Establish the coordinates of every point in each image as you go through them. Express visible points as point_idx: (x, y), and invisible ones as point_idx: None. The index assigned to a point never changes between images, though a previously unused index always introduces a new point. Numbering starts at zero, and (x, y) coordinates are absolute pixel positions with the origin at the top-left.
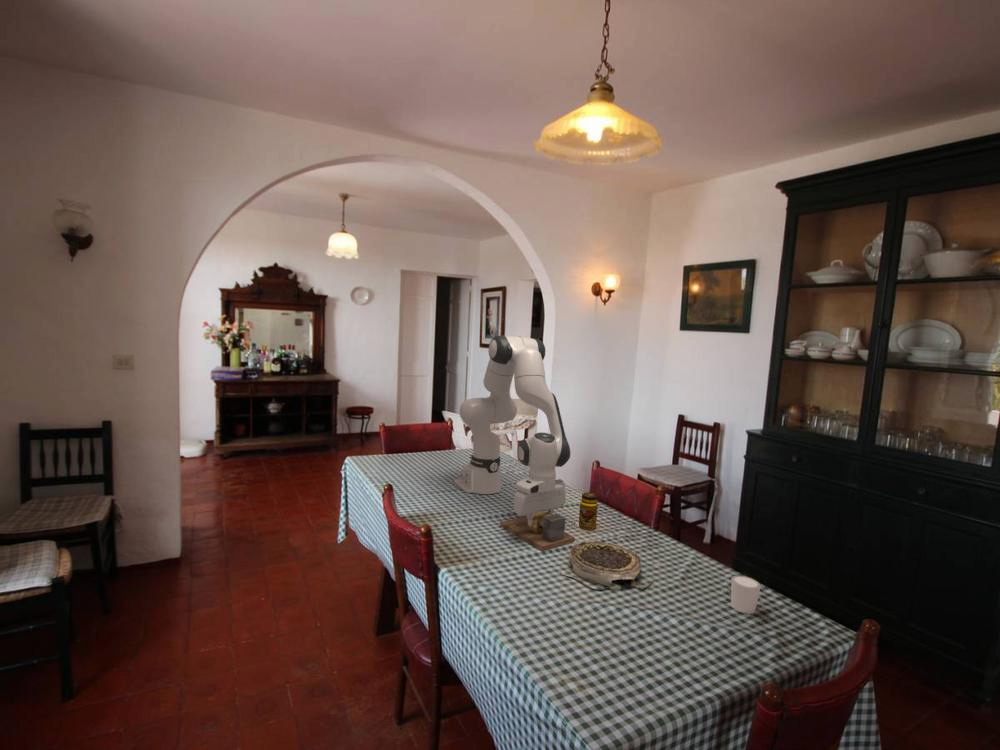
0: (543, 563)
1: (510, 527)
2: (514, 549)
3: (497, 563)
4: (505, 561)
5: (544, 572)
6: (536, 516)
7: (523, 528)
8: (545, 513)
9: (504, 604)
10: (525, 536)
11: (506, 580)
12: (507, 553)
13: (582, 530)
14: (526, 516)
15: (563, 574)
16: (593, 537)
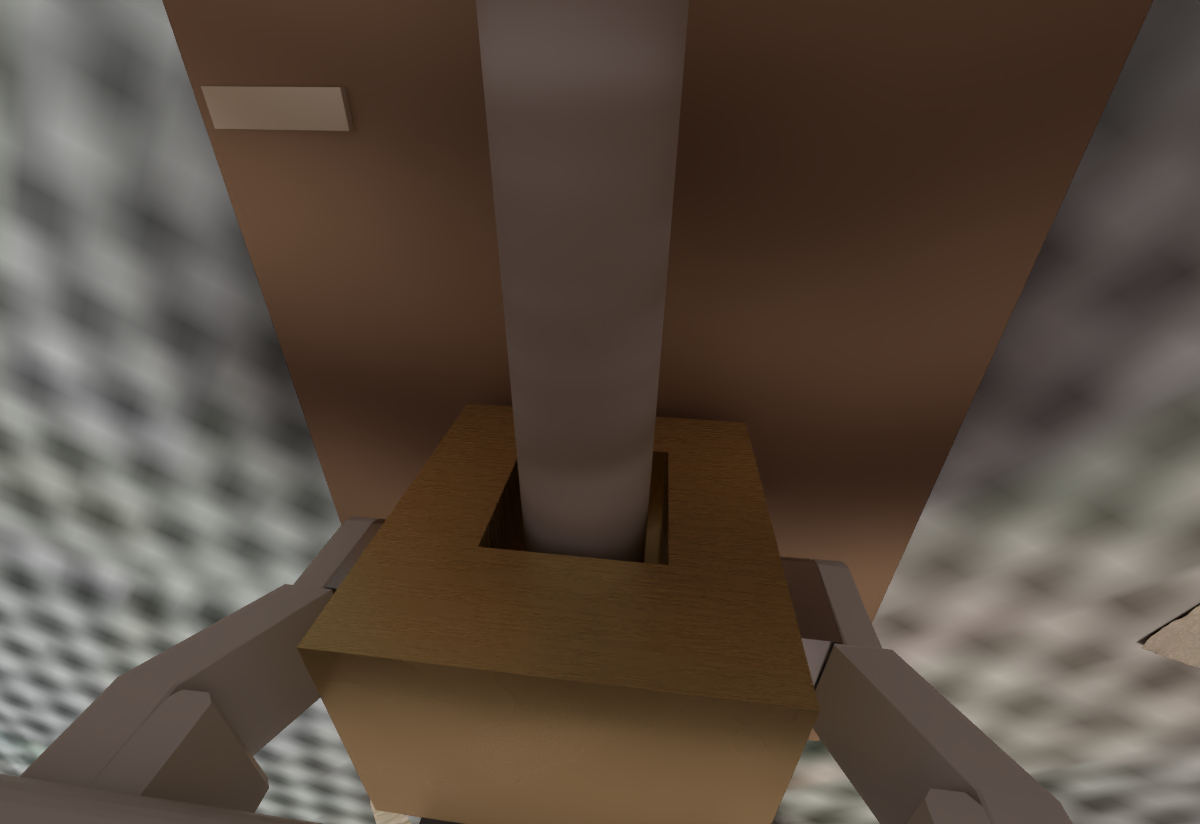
0: (331, 719)
1: (223, 129)
2: (188, 519)
3: (3, 587)
4: (69, 597)
5: (288, 757)
6: (368, 791)
7: (437, 298)
8: (678, 820)
9: (19, 773)
10: (335, 496)
11: (48, 704)
12: (106, 534)
13: (1198, 626)
14: (184, 647)
15: (374, 809)
16: (1056, 735)
